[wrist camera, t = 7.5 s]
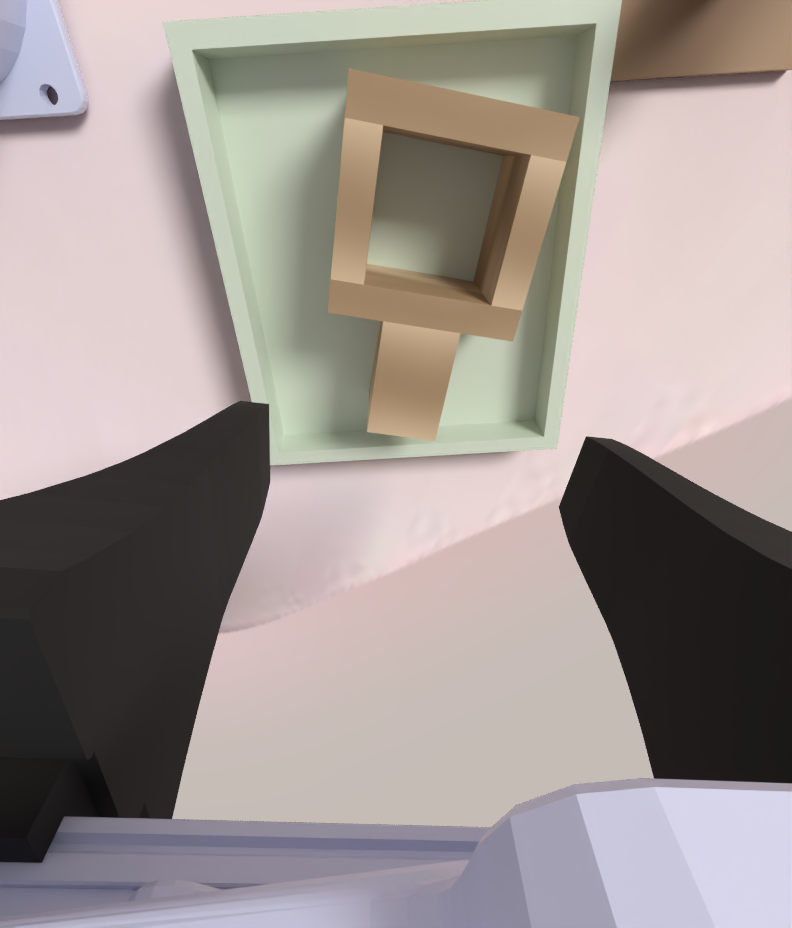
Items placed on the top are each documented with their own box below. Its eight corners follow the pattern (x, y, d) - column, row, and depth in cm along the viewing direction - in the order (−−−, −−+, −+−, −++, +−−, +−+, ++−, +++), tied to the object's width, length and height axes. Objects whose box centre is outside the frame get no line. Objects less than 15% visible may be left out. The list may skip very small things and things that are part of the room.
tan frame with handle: (467, 405, 21) (481, 446, 18) (327, 386, 20) (317, 425, 17) (541, 125, 15) (580, 117, 12) (355, 86, 15) (348, 68, 12)
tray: (275, 442, 22) (266, 465, 20) (188, 37, 14) (162, 21, 13) (543, 426, 22) (556, 448, 20) (594, 11, 14) (623, -9, 13)
